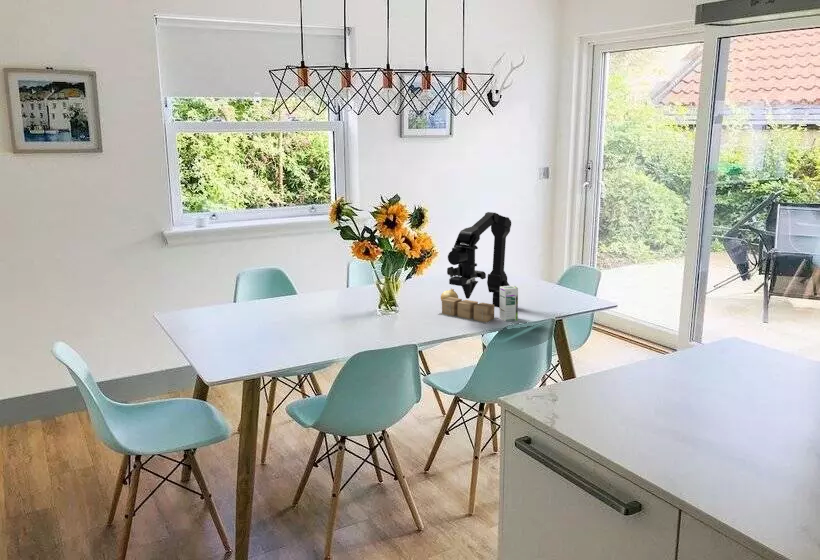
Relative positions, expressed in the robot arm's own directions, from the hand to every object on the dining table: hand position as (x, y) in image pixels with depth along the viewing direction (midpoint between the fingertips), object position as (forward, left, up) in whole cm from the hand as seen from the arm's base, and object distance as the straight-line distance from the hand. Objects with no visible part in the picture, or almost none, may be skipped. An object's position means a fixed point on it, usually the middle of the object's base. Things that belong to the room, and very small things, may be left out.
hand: (467, 298), depth 285 cm
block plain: (0, 0, -8) cm, 8 cm away
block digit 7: (0, +8, -8) cm, 11 cm away
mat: (0, 0, -9) cm, 9 cm away
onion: (-15, -20, -9) cm, 27 cm away
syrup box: (-7, +16, -9) cm, 19 cm away
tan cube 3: (0, -8, -8) cm, 11 cm away
